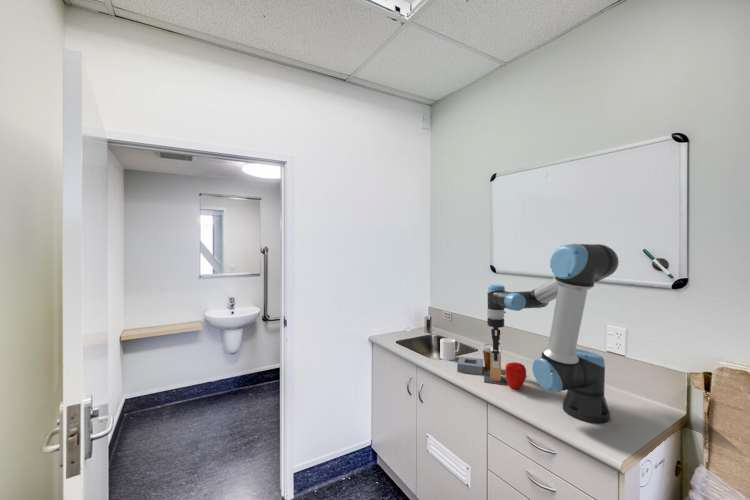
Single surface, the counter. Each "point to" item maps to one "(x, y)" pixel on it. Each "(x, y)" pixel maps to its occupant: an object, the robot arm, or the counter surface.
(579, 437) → the counter surface
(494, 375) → the tall drinking glass
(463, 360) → the gray square block
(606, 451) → the counter surface
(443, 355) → the cup
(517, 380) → the apple
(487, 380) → the pad
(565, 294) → the robot arm
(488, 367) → the disposable coffee cup
